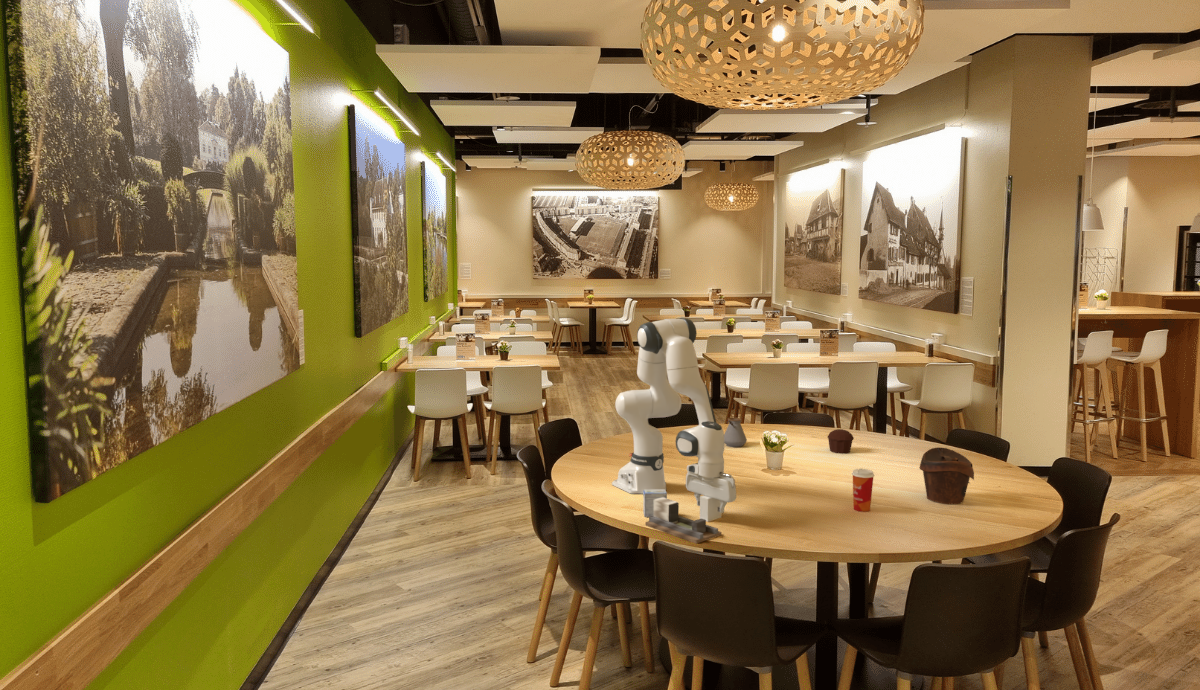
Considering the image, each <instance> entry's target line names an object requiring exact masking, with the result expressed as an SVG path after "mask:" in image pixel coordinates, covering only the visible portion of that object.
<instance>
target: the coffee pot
mask: <svg viewBox="0 0 1200 690" xmlns="http://www.w3.org/2000/svg"><path fill="white" fill-rule="evenodd" d="M727 420H728V421H727V422H728V424H727V427H726V430H725V432H724V445H725V446H727V447H729V448H741V447H743V446H744V445H745V444H746V443H747V437H746V434H745V432H744V429H743V427H742V425H741V423H742V420H743V419H742V418H740V417H729V418H727Z"/></svg>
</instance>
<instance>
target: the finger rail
mask: <svg viewBox="0 0 1200 690" xmlns="http://www.w3.org/2000/svg"><path fill="white" fill-rule="evenodd" d="M679 505H680V504H679V502H678V501H675V500H673V499H670V498H668V497H667V498H664V497H662V498H658V499H655V500H654V516H650V517H648V521H645V526H646V527H649V528H652V529H655V530H657V531H661V532H662V533H666V534H669V535H671V536H674V537H677V538H679V539H683V540H685V541H688V542H691V543H694V544H699V543H702V542H705V541H708V540H710V539H714V538H717V537H719V536H722V534H723V533H722V531H720V530H719V528H717V527H714V526H712V525H708V524H707V521H706V520H705V519H702V518H701V519H700V518H698V519H695V520H694V519H691V518H687V517H684V516H681V515H680V514H679V508H680V506H679Z"/></svg>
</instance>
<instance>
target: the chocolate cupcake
mask: <svg viewBox="0 0 1200 690" xmlns="http://www.w3.org/2000/svg"><path fill="white" fill-rule="evenodd" d="M919 470H920V471H922V473H923V479H924V480H923V482H924V488H925V493H926V498H927V500H929V501H932V502H935V503H938V504H944V505H959V504H962V503H963V502H964V500H965V496H966V493H967V490H968V485H969V484H970V479H971V480H973V481H975V472H974V468H973V463H972V462H971V461H970V460H969V459H968V458H967V457H966V456H964V455H963V454H961V453H959V452H957V451H955V450H953V449H950V448H947V447H939V446H938V447H933V448H930V449H928V450H926V452H924V453H923V454H922V458H921V460H920V463H919Z"/></svg>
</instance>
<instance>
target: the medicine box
mask: <svg viewBox="0 0 1200 690" xmlns="http://www.w3.org/2000/svg"><path fill="white" fill-rule="evenodd" d="M666 490H667V489H666ZM666 490H665V489H651V490H644V494H642V495H643V501H642V502H643V509H642V511H643V515H644V518H649V517H650V516H654V500H655V499H658V498H662V497H664V498H667V499H668V492H667V491H666Z"/></svg>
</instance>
